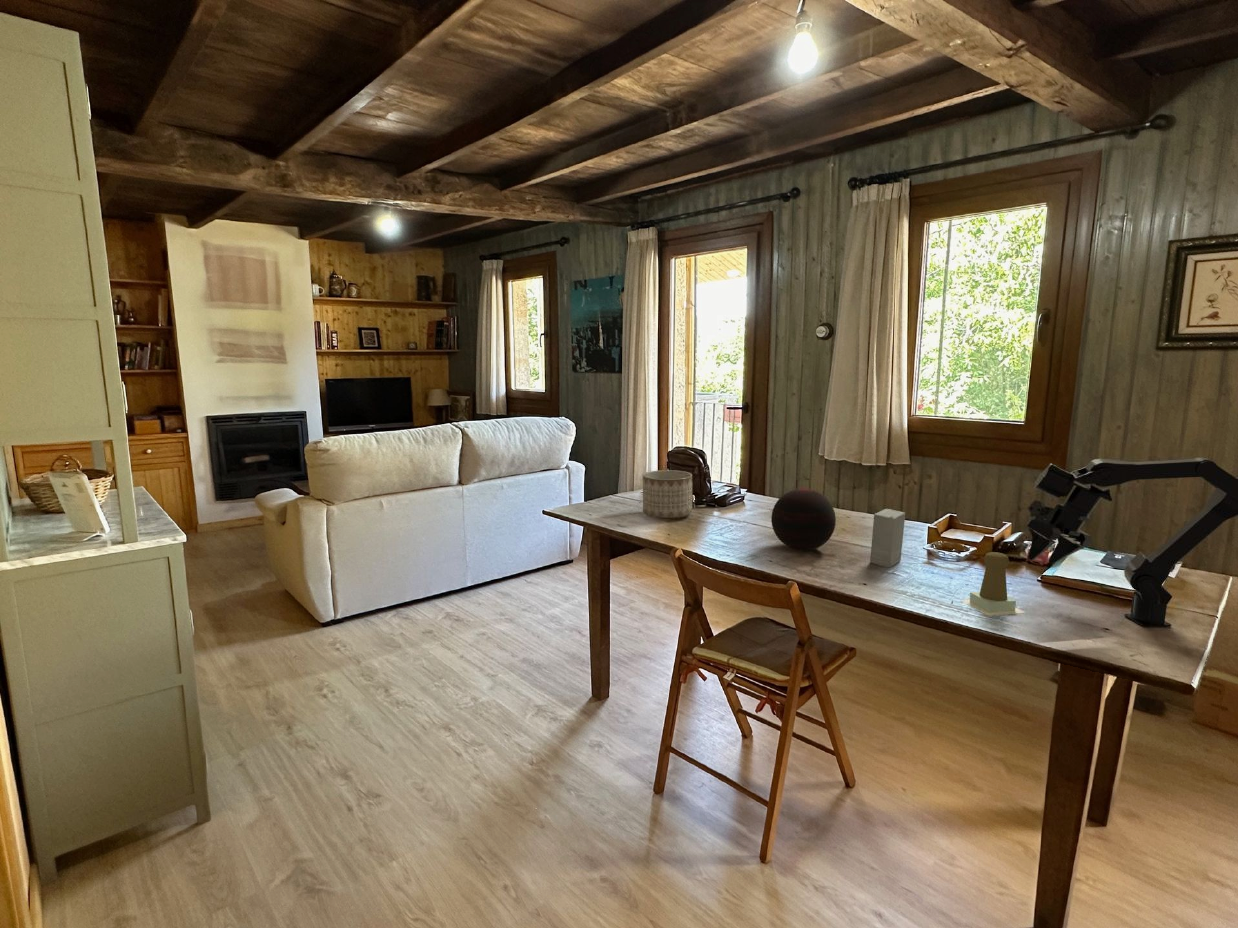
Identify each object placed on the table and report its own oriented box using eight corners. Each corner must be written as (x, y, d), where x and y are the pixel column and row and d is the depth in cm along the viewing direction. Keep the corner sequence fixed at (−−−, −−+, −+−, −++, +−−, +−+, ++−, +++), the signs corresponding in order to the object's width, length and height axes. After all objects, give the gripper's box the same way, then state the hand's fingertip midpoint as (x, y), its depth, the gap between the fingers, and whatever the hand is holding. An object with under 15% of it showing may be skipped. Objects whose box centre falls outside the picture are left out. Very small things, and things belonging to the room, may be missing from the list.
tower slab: (1024, 618, 160) (1025, 612, 159) (986, 621, 158) (987, 615, 158) (995, 602, 169) (996, 597, 169) (959, 605, 168) (960, 599, 168)
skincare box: (880, 557, 207) (883, 507, 204) (903, 562, 202) (906, 511, 199) (868, 563, 201) (871, 512, 198) (891, 568, 196) (894, 516, 193)
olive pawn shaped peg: (977, 590, 167) (980, 548, 165) (1004, 593, 165) (1008, 550, 163) (981, 599, 161) (985, 556, 159) (1009, 602, 159) (1013, 558, 157)
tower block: (1015, 610, 161) (1016, 600, 160) (988, 612, 160) (989, 602, 159) (995, 599, 167) (995, 590, 167) (969, 601, 166) (970, 592, 166)
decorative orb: (805, 537, 229) (807, 480, 226) (848, 553, 212) (850, 491, 208) (758, 545, 221) (759, 486, 217) (798, 562, 203) (800, 498, 200)
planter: (645, 509, 273) (645, 469, 270) (692, 510, 270) (692, 470, 267) (640, 521, 254) (640, 479, 251) (691, 522, 251) (691, 479, 248)
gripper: (1067, 496, 170) (1033, 546, 175) (1026, 485, 161) (991, 538, 166) (1109, 519, 161) (1071, 571, 166) (1068, 508, 152) (1029, 564, 157)
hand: (1040, 561), depth 164 cm, fingers open, 9 cm apart
